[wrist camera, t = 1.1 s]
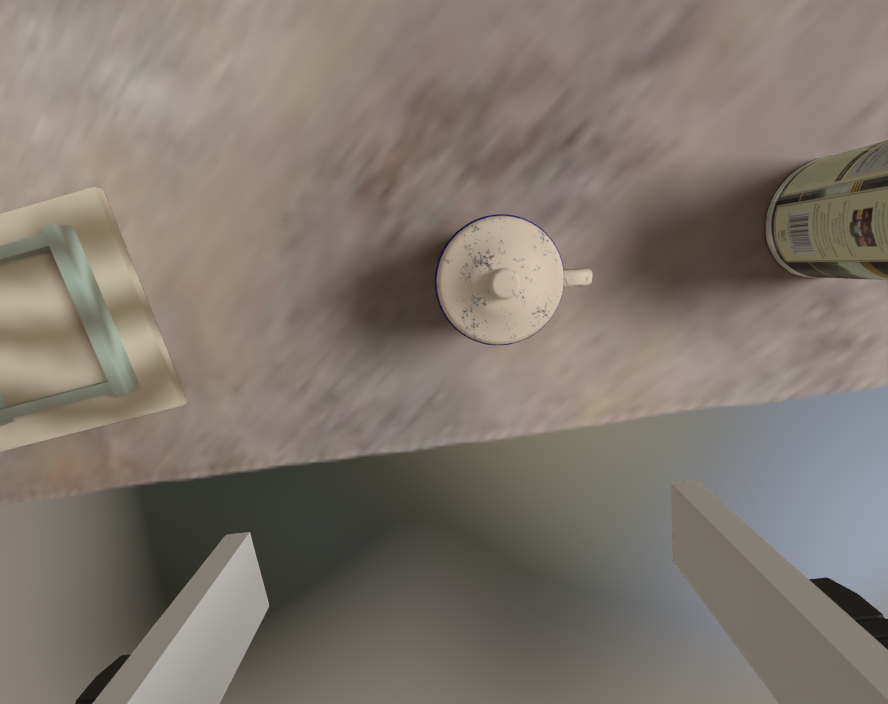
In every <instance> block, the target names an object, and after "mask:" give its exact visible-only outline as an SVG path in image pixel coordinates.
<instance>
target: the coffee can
mask: <svg viewBox="0 0 888 704" xmlns="http://www.w3.org/2000/svg"><path fill="white" fill-rule="evenodd" d="M766 238H767V243H768V246H769V249H770V251H771V253H772V255H773V256H774V258H775V259H776V261H777V262H778V263H779V264H780V265H781V266H782V267H784V268H785V269H786V270H788V271H789V272H791V273H793V274H795V275H798V276H802V277H806V278H851V279H878V280H888V140H887V141H884V142H880V143H876V144H873V145H869V146H866V147H862V148H859V149H855V150H851V151H848V152H844V153H841V154H837V155H834V156H828V157H823V158H819V159H816V160H814V161H811V162H809V163H807V164H805V165H803V166H802V167H800V168H798V169H797V170H796V171H795V172H793V173H792V174H791V175H789V176H788V177H787V179H786V180H785V181H784V182H783V183H782V185H781V186H780V187H779V189H778V190H777V191H776V193H775V195H774V197H773V199H772V201H771V203H770V206H769V208H768V212H767V216H766Z"/></svg>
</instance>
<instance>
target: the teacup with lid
mask: <svg viewBox="0 0 888 704" xmlns="http://www.w3.org/2000/svg"><path fill="white" fill-rule="evenodd" d="M591 282H592V271H591V270H589V269H564V268H563V263H562V259H561V256H560V254H559V251H558V249H557V247H556V246H555V244H554V242H553V241H552V239H551V238H550V237H549V236H548V235H547V234H546V233H545V232H544V231H543V230H542V229H541V228H540V227H538V226H537V225H535V224H534V223H532V222H530V221H528V220H526V219H523V218H521V217H517V216H513V215H500V214H499V215H490V216H485V217H482V218H479V219H476V220H474V221H472V222H470V223H468V224H467V225H465V226H464V227H462V228H461V229H460V230H459V231H457V232H456V233H455V234H454V235H453V236H452V238H451V239H450V240H449V241H448V243H447V244H446V246H445V247H444V249H443V251H442V253H441V255H440V258H439V260H438V264H437V268H436V274H435V290H436V296H437V299H438V303H439V305H440V308H441V310H442V312H443V314H444V315H445V317H446V319H447V320H448V321H449V322H450V324H451V325H452V326H453V327H454V328H455V329H456V330H458V331H459V332H460V333H461V334H463V335H464V336H466V337H468V338H470V339H472V340H474V341H476V342H480V343H483V344H488V345H508V344H513V343H516V342H520V341H522V340H525V339H527V338H529V337H530V336H532V335H534V334H535V333H537V332H538V331H539V330H540V329H542V328H543V327H544V326H545V325H546V324H547V322H548V321H549V320H550V319H551V317H552V316H553V315H554V313H555V311H556V309H557V307H558V305H559V303H560V300H561V297H562V293H563V288H564V287H579V286H587V285H589V284H591Z"/></svg>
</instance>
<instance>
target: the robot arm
mask: <svg viewBox="0 0 888 704" xmlns="http://www.w3.org/2000/svg"><path fill="white" fill-rule="evenodd" d="M671 502H672V547H673V548H672V549H673V550H672V551H673V562H674V563H675V565H676V566H677V567H678V569H679V570H680V571H681V573H682V574H683V575H684V577H685V578H686V579H687V580H688V582H689V583H690V585H691V586H692V587H693V589H694V590H695V591H696V593H697V594H698V595H699V597H700V598H701V600H702V601H703V602H704V603H705V604H706V606H707V608H708V609H709V610H710V612H711V613H712V614H713V615H714V617H715V618H716V620H717V621H718V622H719V624H720V625H721V626H722V628H723V629H724V630H725V632H726V633H727V634H728V636H729V637H730V638H731V640H732V641H733V642H734V644H735V645H736V646H737V648H738V649H739V651H740V652H741V653H742V655H743V656H744V657H745V658H746V660H747V661H748V663H749V664H750V665H751V667H752V668H753V669H754V670H755V672H756V673H757V675H758V676H759V677H760V679H761V680H762V681H763V683H764V684H765V685H766V687H767V688H768V689H769V691H770V692H771V694H772V695H773V696H774V698H775V699H776V700H777V702H778V703H779V704H888V619H885V618H884V617H883V614H881V613H880V612H879V611H878V610H877V609H875V608H874V607H873V606H872V605H870V604H869V603H868V602H867V601H866V600H864V599H863V598H862V597H861V596H860V595H858V594H857V593H855V592H853V591H851V590H849V589H848V588H846V587H844V586H842V585H840V584H838V583H836V582H835V581H833V580H831V579H829V578H818V579H808V578H806V577H805V576H804V575H803V574H802V573H801V572H800V571H799V570H798V569H796V568H795V567H794V566H793V565H792V564H791V563H790V562H789V561H787V560H786V559H785V558H784V557H783V556H782V555H780V553H778V552H777V551H776V550H775V549H774V548H773V547H772V546H770V545H769V544H768V543H767V542H766V541H765V540H764V539H763V538H762V537H760V536H759V535H758V534H757V533H756V532H755V531H754V530H753V529H751V528H750V527H749V526H748V525H747V524H746V523H745V522H744V521H742V520H741V519H740V518H739V517H738V516H737V515H736V514H735V513H733V512H732V511H731V510H730V509H729V508H728V507H727V506H726V505H724V504H723V503H722V502H721V501H720V500H719V499H718V498H717V497H716V496H714V495H713V494H712V493H711V492H710V491H709V490H708V489H706V488H705V487H704V486H703V485H702V484H701V483H700V482H699V481H698V480H689V481H682V482H672V483H671ZM268 607H269V603H268V599H267V596H266V592H265V588H264V584H263V581H262V577H261V573H260V569H259V565H258V562H257V558H256V554H255V550H254V546H253V543H252V539H251V535H250V532H247V533H238V534H230V535H226V536H225V537H224V538H223V539H222V541H221V542H220V543H219V544H218V546H217V547H216V548H215V550H214V551H213V552H212V553H211V555H210V556H209V557H208V559H207V560H206V561H205V562H204V563H203V565H202V566H201V567H200V568H199V570H198V571H197V572H196V574H195V575H194V576H193V577H192V579H191V580H190V581H189V582H188V584H187V585H186V586H185V587H184V589H183V590H182V591H181V592H180V594H179V595H178V596H177V598H176V599H175V600H174V601H173V602H172V604H171V605H170V606H169V608H168V609H167V610H166V611H165V613H164V614H163V615H162V616H161V618H160V619H159V620H158V621H157V623H156V624H155V625H154V626H153V628H152V629H151V631H149V633H148V634H147V635H146V637H145V638H144V639H143V641H142V642H141V643H140V644H139V645H138V647H137V648H136V649H135V650H134V652H133V653H132V654H131V655H122V656H120V657H119V658H118V659H117V660H115V661H114V662H113V663H112V664H111V665H110V666H108V667H107V668H106V669H105V670H104V671H102V672H101V673H100V674H99V675H98V676H96V677H95V679H94V680H93V681H92V682H91V683H90V685H89V686H88V687H87V688H86V689H85V691H84V692H83V693H82V694H81V695H80V697H79V698H78V699H77V700H76V704H219V703H220V702H221V700H222V698H223V696H224V694H225V692H226V690H227V688H228V686H229V684H230V682H231V680H232V678H233V676H234V674H235V672H236V670H237V668H238V666H239V664H240V662H241V660H242V658H243V656H244V654H245V652H246V650H247V648H248V646H249V644H250V642H251V640H252V639H253V636H254V635H255V633H256V631H257V629H258V627H259V625H260V623H261V621H262V619H263V617H264V615H265V613H266V611H267V609H268Z"/></svg>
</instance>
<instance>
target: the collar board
mask: <svg viewBox="0 0 888 704" xmlns="http://www.w3.org/2000/svg"><path fill="white" fill-rule="evenodd" d="M186 403H188V401H187V399H186V396H185V394H184V391H183V389H182V386H181V384H180V381H179V379H178V376H177V374H176V371H175V369H174V366H173V364H172V361H171V359H170V356H169V354H168V351H167V349H166V346H165V344H164V341H163V339H162V336H161V334H160V331H159V329H158V326H157V324H156V321H155V319H154V316H153V314H152V311H151V309H150V306H149V304H148V301H147V299H146V296H145V294H144V291H143V289H142V286H141V284H140V281H139V279H138V276H137V274H136V271H135V269H134V266H133V264H132V261H131V259H130V256H129V254H128V251H127V249H126V246H125V244H124V241H123V239H122V236H121V234H120V231H119V229H118V226H117V224H116V221H115V219H114V216H113V214H112V211H111V209H110V206H109V204H108V201H107V199H106V196H105V194H104V191H103V189H100V188H95V187H92V188H88V189H85V190H81V191H78V192H74V193H71V194H67V195H64V196H61V197H57V198H54V199H50V200H47V201H43V202H40V203H36V204H33V205H29V206H26V207H22V208H19V209H15V210H12V211H8V212H5V213H2V214H0V452H1V451H5V450H9V449H13V448H17V447H21V446H25V445H29V444H33V443H37V442H40V441H44V440H48V439H52V438H56V437H60V436H64V435H68V434H72V433H76V432H80V431H84V430H88V429H92V428H96V427H100V426H104V425H108V424H112V423H116V422H120V421H124V420H128V419H132V418H135V417H139V416H143V415H147V414H151V413H155V412H159V411H163V410H167V409H171V408H175V407H179V406H182V405H184V404H186Z"/></svg>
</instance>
